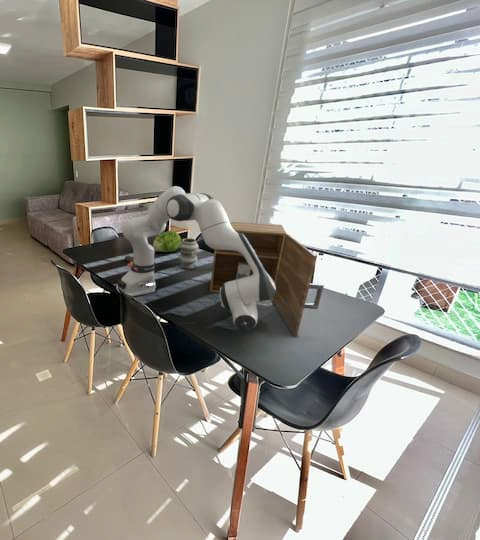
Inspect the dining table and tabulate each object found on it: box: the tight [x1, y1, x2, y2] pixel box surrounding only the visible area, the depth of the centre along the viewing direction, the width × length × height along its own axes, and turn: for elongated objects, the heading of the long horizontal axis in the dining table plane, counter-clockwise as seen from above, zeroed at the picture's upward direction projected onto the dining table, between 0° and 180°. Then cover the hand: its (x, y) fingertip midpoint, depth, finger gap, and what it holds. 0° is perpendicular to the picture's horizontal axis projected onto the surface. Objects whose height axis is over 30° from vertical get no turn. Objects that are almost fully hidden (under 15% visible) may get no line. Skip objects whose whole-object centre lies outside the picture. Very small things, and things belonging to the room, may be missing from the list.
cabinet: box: [209, 221, 288, 301], centre depth 148 cm, size 18×30×34 cm, turn 69°
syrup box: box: [236, 261, 251, 279], centre depth 150 cm, size 6×6×14 cm
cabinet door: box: [271, 233, 325, 337], centre depth 121 cm, size 7×30×34 cm, turn 169°
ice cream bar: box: [124, 255, 134, 265], centre depth 194 cm, size 3×5×15 cm
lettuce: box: [152, 230, 182, 253], centre depth 213 cm, size 16×21×15 cm
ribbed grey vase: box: [177, 237, 199, 271], centre depth 182 cm, size 12×12×18 cm
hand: (244, 288), depth 128 cm, fingers open, 8 cm apart
